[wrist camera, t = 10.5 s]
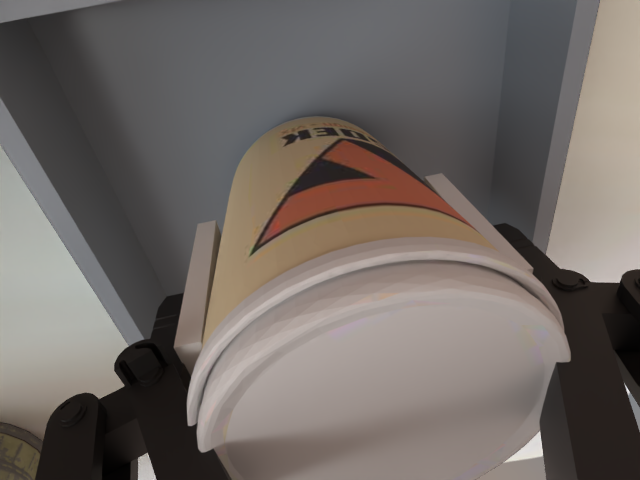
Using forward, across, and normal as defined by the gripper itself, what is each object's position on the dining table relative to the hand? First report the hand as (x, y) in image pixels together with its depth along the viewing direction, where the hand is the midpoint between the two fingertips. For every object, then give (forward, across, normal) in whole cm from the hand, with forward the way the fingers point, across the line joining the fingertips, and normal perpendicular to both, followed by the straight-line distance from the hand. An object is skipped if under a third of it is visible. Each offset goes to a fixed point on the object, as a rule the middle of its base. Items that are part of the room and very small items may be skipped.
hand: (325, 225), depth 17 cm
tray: (+4, 0, 0) cm, 4 cm away
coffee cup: (+3, 0, 0) cm, 3 cm away
